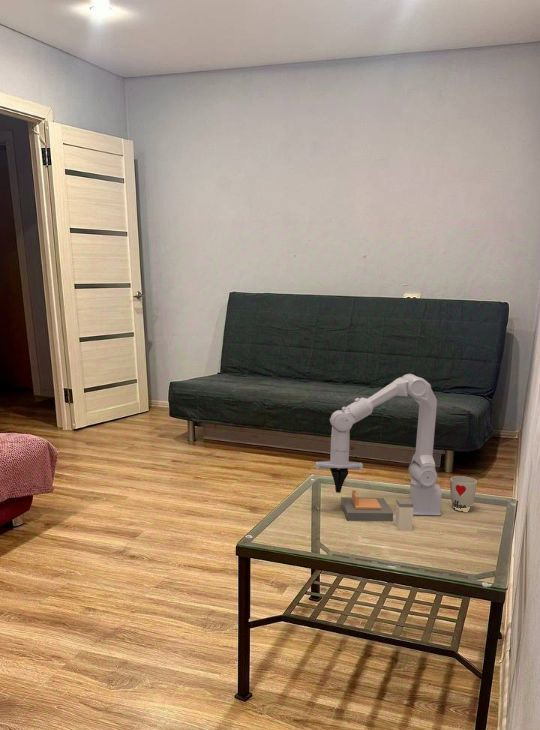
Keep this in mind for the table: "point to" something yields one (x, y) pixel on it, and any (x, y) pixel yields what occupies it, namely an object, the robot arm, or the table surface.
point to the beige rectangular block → (404, 514)
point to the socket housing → (366, 511)
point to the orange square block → (364, 502)
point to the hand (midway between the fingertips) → (338, 491)
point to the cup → (462, 491)
